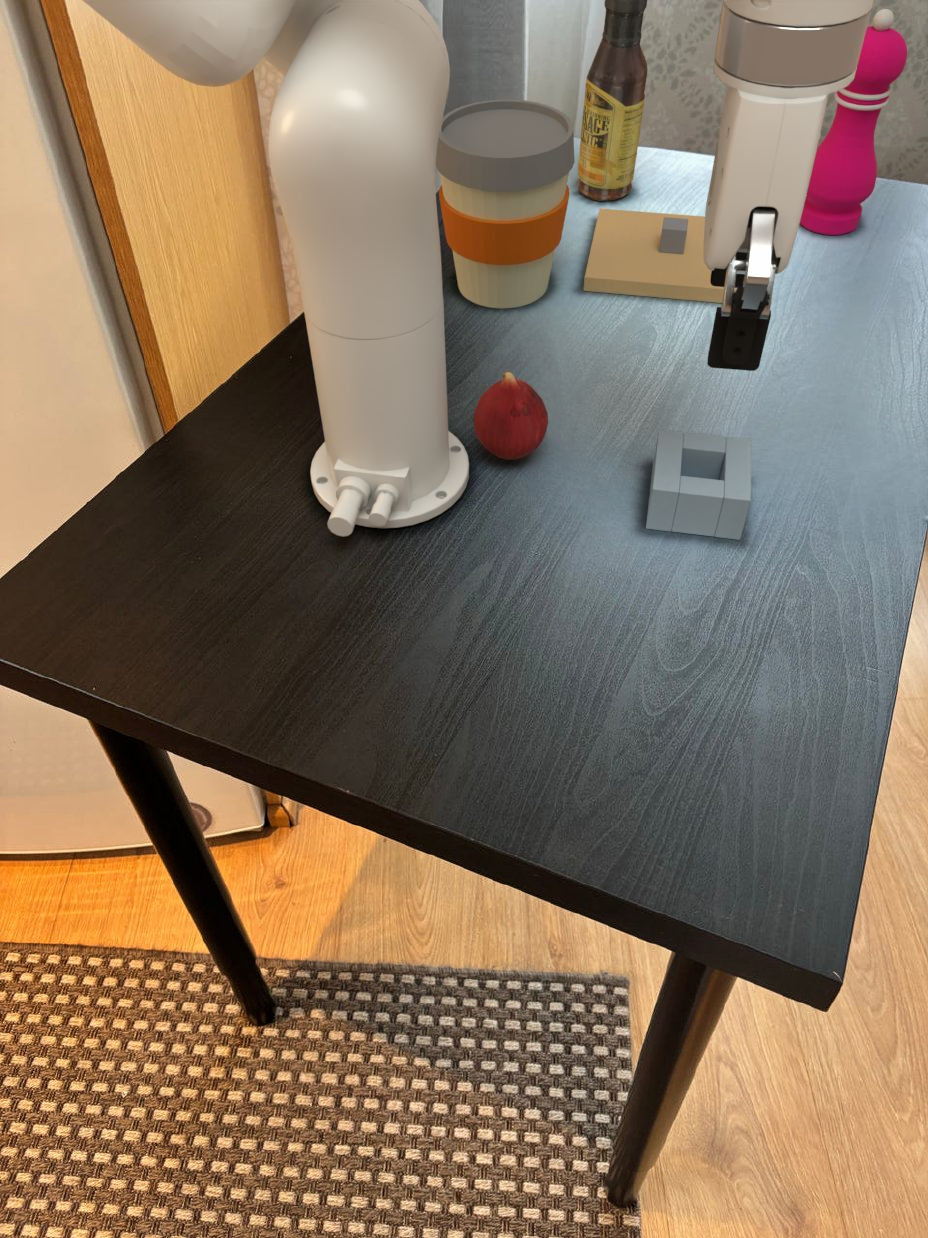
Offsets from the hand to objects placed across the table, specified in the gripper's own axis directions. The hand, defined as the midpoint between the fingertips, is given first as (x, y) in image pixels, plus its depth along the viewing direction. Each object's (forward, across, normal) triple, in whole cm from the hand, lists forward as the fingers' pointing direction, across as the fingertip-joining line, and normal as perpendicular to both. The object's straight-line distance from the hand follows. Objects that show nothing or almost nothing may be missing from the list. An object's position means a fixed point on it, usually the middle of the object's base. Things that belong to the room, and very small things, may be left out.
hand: (732, 324), depth 65 cm
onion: (+15, -2, -15) cm, 21 cm away
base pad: (+15, -34, -4) cm, 38 cm away
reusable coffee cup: (+15, -28, -20) cm, 37 cm away
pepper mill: (+15, -45, +12) cm, 49 cm away
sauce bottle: (+15, -48, -12) cm, 52 cm away
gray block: (+15, +2, 0) cm, 15 cm away
